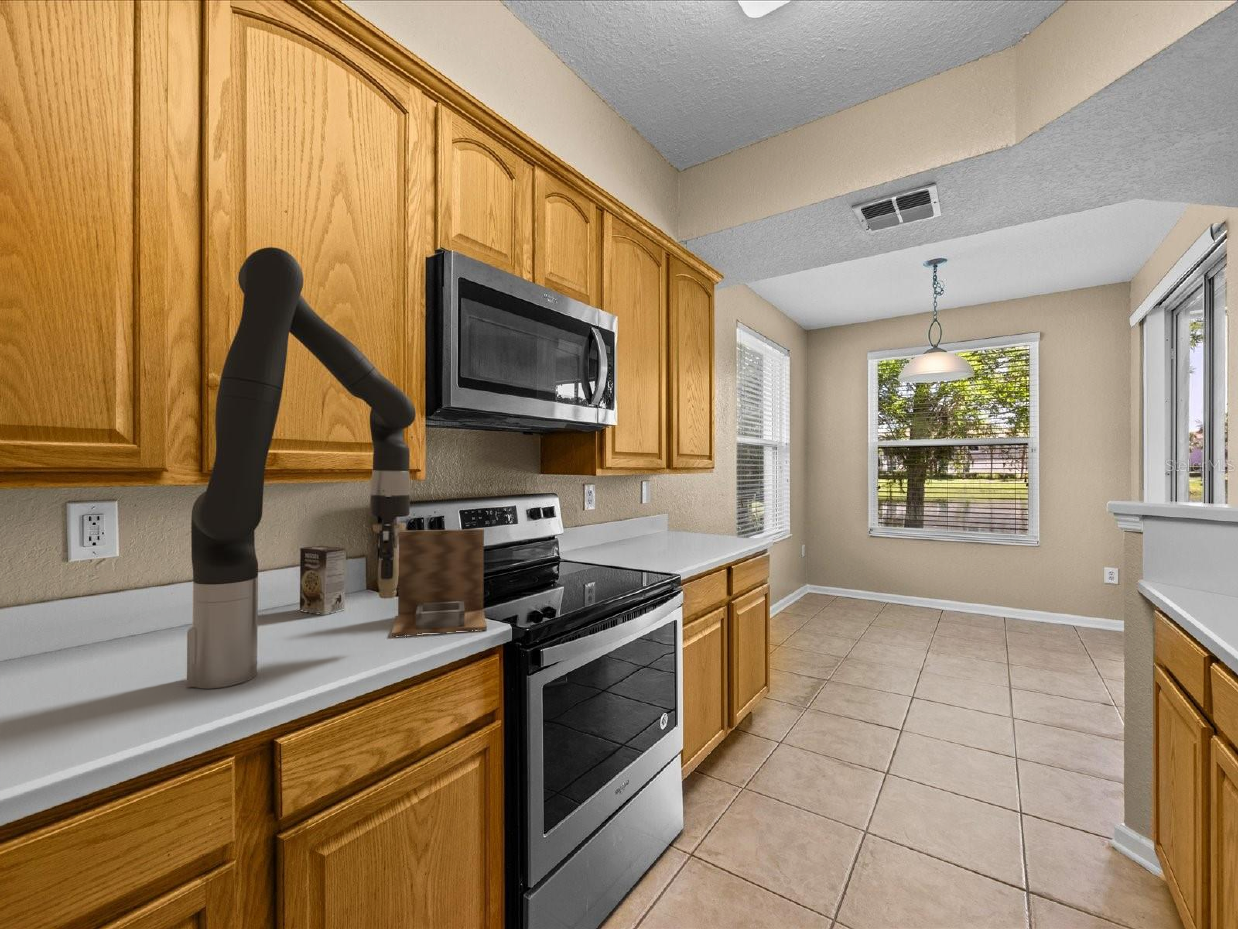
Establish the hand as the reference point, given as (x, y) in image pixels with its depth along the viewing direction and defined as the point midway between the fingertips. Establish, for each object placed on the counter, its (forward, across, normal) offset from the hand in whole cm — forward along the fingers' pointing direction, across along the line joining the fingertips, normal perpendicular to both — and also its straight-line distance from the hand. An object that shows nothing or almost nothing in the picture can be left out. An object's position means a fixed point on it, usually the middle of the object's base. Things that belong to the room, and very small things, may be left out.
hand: (388, 576), depth 116 cm
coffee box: (+15, -34, -19) cm, 42 cm away
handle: (+5, 0, 0) cm, 5 cm away
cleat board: (+14, -16, +10) cm, 23 cm away
